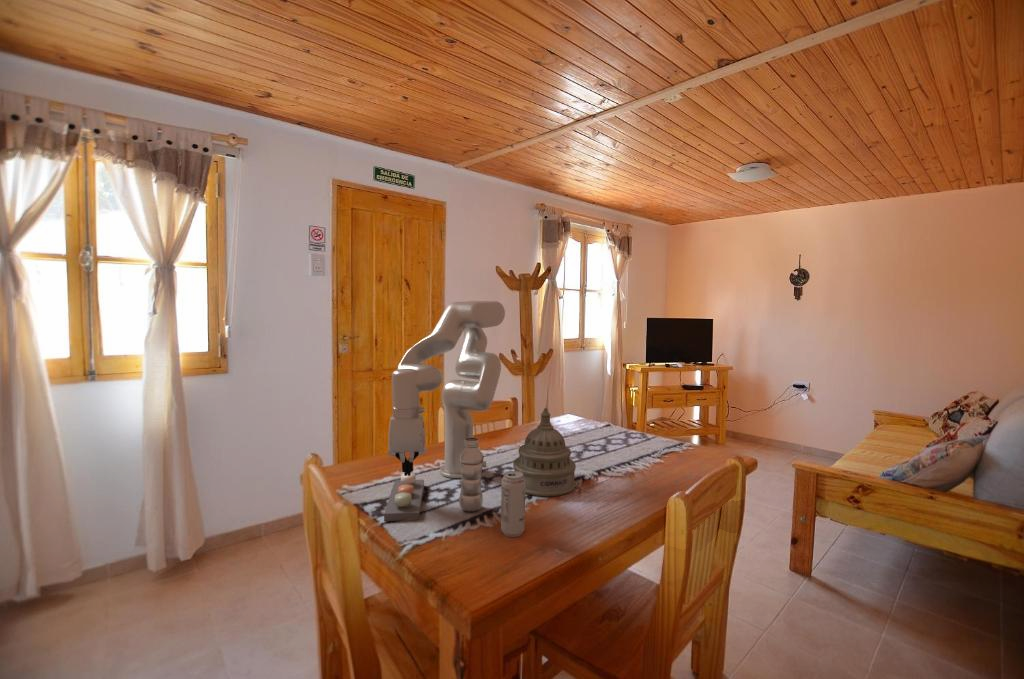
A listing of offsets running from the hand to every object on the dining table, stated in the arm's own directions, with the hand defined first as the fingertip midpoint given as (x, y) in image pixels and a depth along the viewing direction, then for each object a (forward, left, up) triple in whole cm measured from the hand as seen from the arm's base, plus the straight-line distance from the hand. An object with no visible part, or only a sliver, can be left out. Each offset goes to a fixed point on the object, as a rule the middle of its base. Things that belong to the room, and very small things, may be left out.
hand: (407, 474), depth 134 cm
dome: (-42, -9, -8) cm, 44 cm away
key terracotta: (0, +1, -7) cm, 7 cm away
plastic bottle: (-18, +7, -8) cm, 21 cm away
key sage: (0, +8, -5) cm, 10 cm away
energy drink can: (-28, +21, -8) cm, 36 cm away
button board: (0, +1, -8) cm, 8 cm away
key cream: (0, -7, -6) cm, 9 cm away
